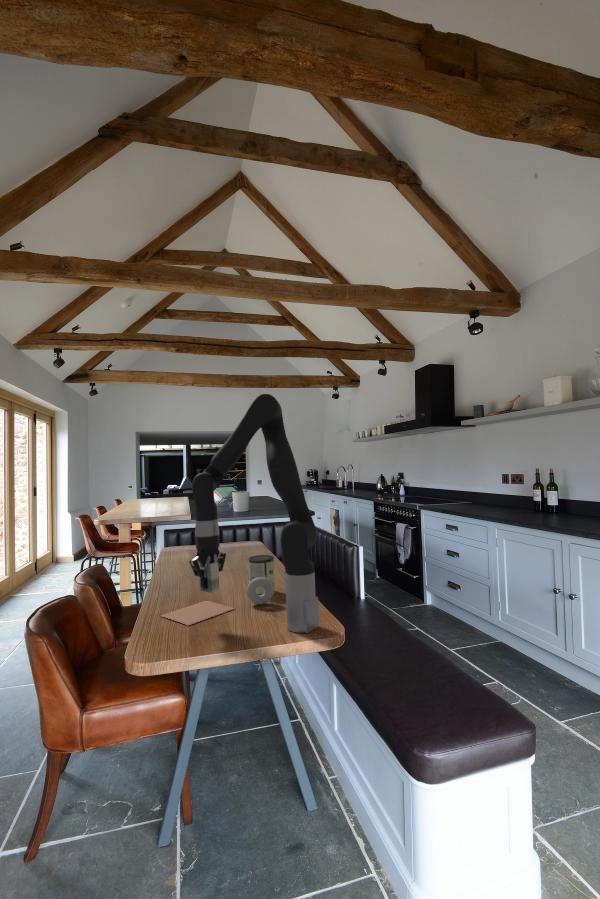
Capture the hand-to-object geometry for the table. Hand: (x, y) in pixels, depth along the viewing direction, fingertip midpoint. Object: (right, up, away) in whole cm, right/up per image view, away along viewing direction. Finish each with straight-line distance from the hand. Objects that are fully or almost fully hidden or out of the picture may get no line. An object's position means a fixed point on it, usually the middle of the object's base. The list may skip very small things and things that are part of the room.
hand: (209, 587), depth 143 cm
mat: (-7, -13, +12) cm, 19 cm away
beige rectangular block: (0, -1, 0) cm, 1 cm away
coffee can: (+14, -13, +34) cm, 39 cm away
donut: (+15, -13, +19) cm, 27 cm away
